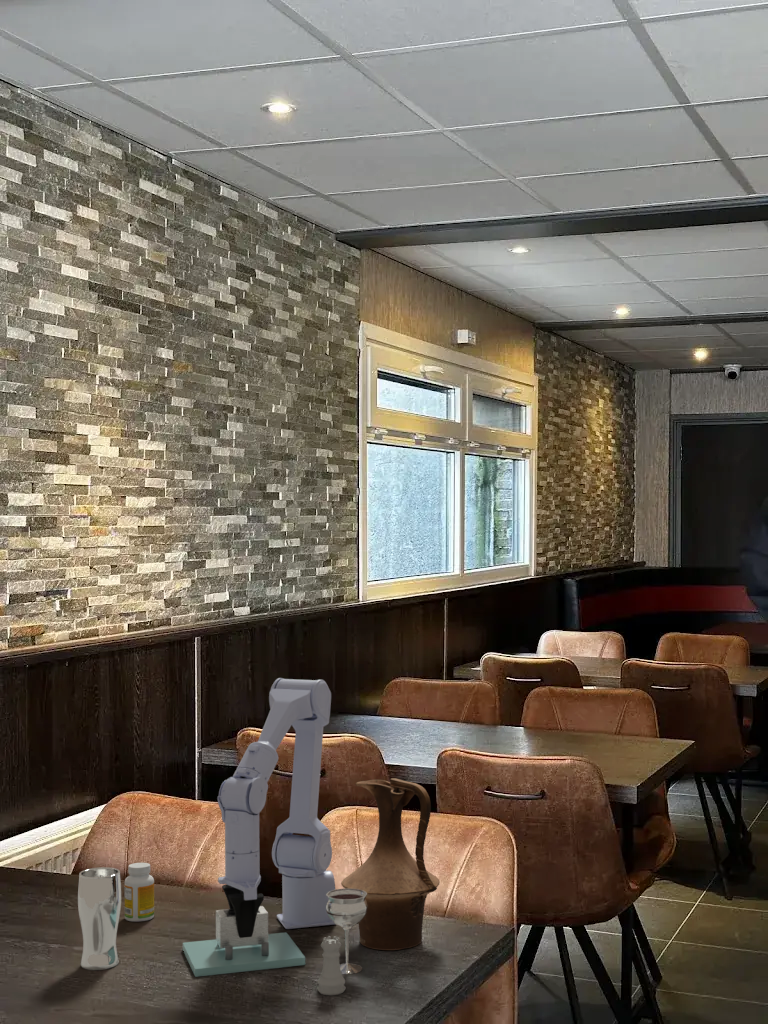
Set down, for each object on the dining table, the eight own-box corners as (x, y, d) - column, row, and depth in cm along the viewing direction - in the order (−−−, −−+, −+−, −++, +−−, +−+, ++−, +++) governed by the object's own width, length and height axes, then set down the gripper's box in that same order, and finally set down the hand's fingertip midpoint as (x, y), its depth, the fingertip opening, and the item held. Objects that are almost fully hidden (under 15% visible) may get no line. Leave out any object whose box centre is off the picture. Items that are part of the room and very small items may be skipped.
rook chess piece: (316, 986, 195) (316, 934, 195) (345, 985, 195) (344, 933, 195) (317, 996, 190) (317, 943, 191) (346, 995, 191) (346, 942, 191)
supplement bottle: (157, 914, 234) (157, 861, 234) (149, 922, 229) (149, 869, 229) (129, 913, 234) (129, 861, 235) (120, 922, 229) (120, 868, 229)
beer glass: (129, 959, 208) (129, 868, 209) (106, 973, 202) (106, 879, 202) (92, 955, 210) (92, 865, 211) (69, 968, 204) (69, 875, 204)
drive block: (262, 935, 212) (262, 905, 212) (268, 943, 208) (268, 912, 208) (215, 940, 210) (215, 909, 210) (220, 948, 206) (220, 917, 206)
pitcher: (460, 936, 219) (458, 775, 220) (409, 964, 205) (408, 792, 205) (375, 921, 228) (374, 766, 229) (321, 946, 214) (320, 781, 215)
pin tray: (286, 939, 218) (286, 920, 218) (305, 964, 205) (305, 945, 205) (182, 949, 213) (182, 930, 213) (195, 976, 200) (195, 956, 200)
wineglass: (337, 978, 198) (336, 902, 199) (319, 966, 204) (318, 891, 205) (375, 971, 201) (374, 896, 202) (356, 959, 207) (356, 886, 208)
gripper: (211, 842, 215) (211, 922, 215) (226, 862, 201) (226, 947, 201) (251, 839, 217) (252, 918, 217) (269, 859, 203) (269, 943, 203)
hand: (242, 932), depth 209 cm, fingers closed on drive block, 4 cm apart
